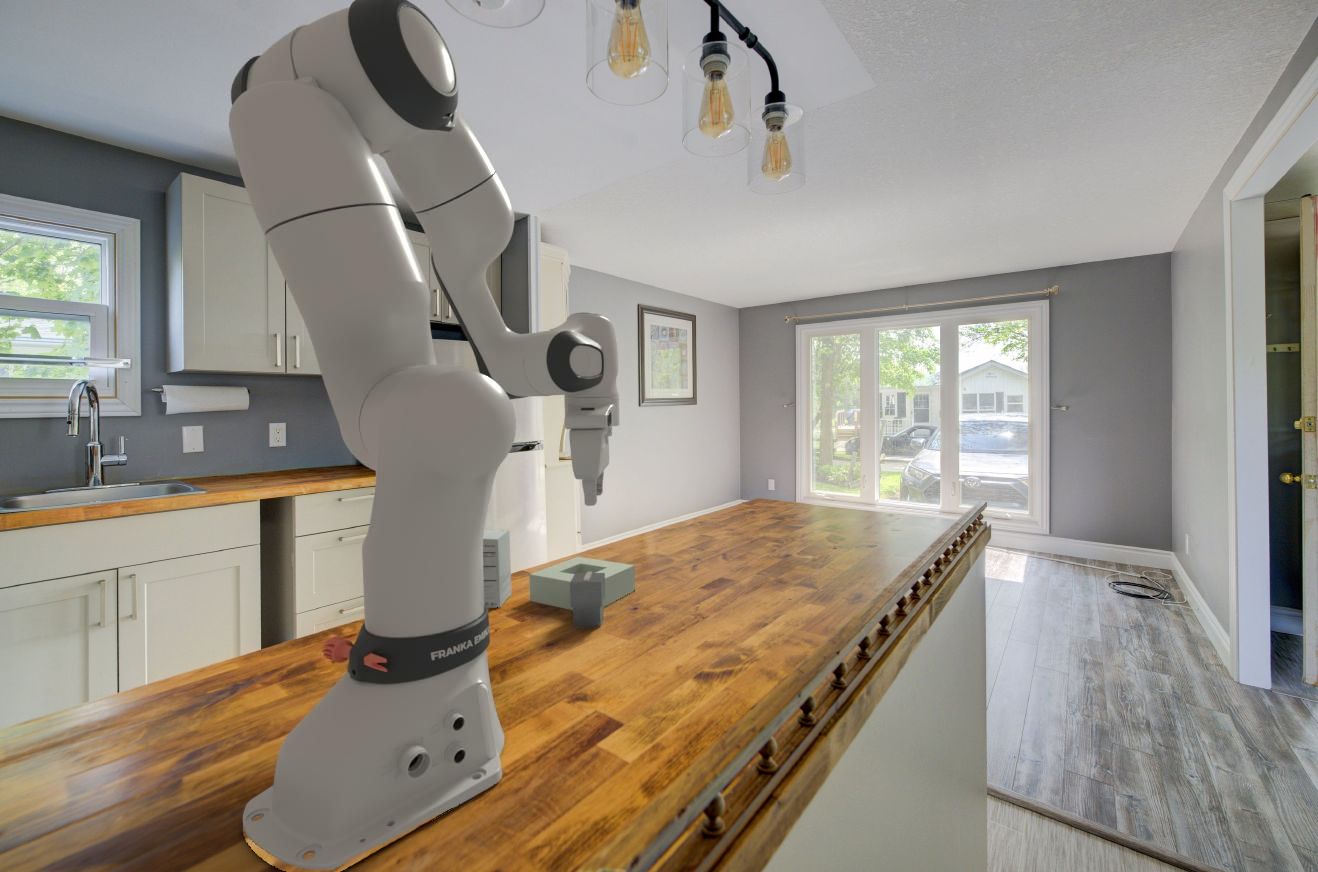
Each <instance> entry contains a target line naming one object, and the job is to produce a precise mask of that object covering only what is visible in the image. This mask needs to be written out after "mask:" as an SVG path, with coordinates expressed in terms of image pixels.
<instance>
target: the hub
mask: <svg viewBox="0 0 1318 872" xmlns="http://www.w3.org/2000/svg"><path fill="white" fill-rule="evenodd" d="M591 571H592V573H605V598H604V601H603V608H605V607H607V606H609V605H611V604H613V603H614V602H617V601H619V600H620V598H621V599H623V598H625V597H626V596H628V595H630V594H632V593H633V592H632V591H634V590H635V591H636V567H635V565H634V564H627V563H622V562H615V561H609V560H604V559H603V560H602V559H596V558H588V557H582V556H576V557H574V558H571V559H568V560H565V561H561V562H560V563H556V564H554V565H551V566H549V567H545V568H542V569H540V570H537V571H534V572H532V573H529V576H528V577H529V601H530V602H533V603H538V604H541V605H547V606H553V607H556V608H561V609H566V610H571V611H573V607H571V601H570V581H571V580H572V578H573V576H574V574H575V573H587V572H591ZM635 591H634V592H635ZM631 592H632V593H631ZM629 593H630V594H629ZM627 594H628V595H627ZM625 595H626V596H625ZM622 597H623V598H622ZM618 599H619V600H618ZM616 600H617V601H616Z"/></svg>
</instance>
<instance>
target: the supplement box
mask: <svg viewBox="0 0 1318 872" xmlns="http://www.w3.org/2000/svg"><path fill="white" fill-rule="evenodd" d="M510 536H511V535H510V530H508V529H507V530H506V529H488V530H487V529H486V530H485V529H484V535H483V581H484V605H485V606H486V607H487V608H488V609H499V608H501V607H502V606H503V604H504V603H505V602H506V601H507V600H508V599H509V598H510V597H511V595H512V573H511V572H512V569H511V567H512V566H511V543H510V542H511V541H510V538H511V537H510ZM497 607H498V608H497Z"/></svg>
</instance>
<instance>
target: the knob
mask: <svg viewBox="0 0 1318 872" xmlns="http://www.w3.org/2000/svg"><path fill="white" fill-rule="evenodd" d="M604 598H605V573H592V571H591V572H587V573H575V574H574V576H573V578H572V580H571V581H570V601H571V607H573V610H572V628H576V629H577V628H578V629H579V628H581V629H582V628H585V629H586V628H601V627H602V623H603V620H604V616H605V615H604V614H605V613H604V611H605V610H604V608H605V607H603V601H604Z"/></svg>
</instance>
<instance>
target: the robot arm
mask: <svg viewBox="0 0 1318 872" xmlns="http://www.w3.org/2000/svg"><path fill="white" fill-rule="evenodd" d="M456 69H457V68H456V65H455V62H454V59H453V57H452V54H451V52H450V49H449V47H448V44H446V41H445V39H444V37H443V36H442V35H441V33H440V31H439V30H438V28H437V27H436V25H435V24H434V23H433V21H432V20H431V18H429V17H428V15H427V14H426V13H425V12H424V11H423V10H421V9H420V8H419V7H418V6H417V5H416V4H414V3H412V2H411V1H409V0H353V2H352V3H351V4H350V6H349V7H346V8H342V9H340V10H337V11H334V12H331V13H329V14H327V15H325V16H323V17H320V18H319V19H316V20H314V21H313V22H311V23H309V24H302V25H300V26H298V27H296V28H295V29H293V30H291V31H290V32H288V33H287V34H285V35H284V36H283V37H281V38H280V39H279V40H277V41H276V42H274V43H273V44H272V45H271V46H270V47H269V48H267V49H266V50H265V51H264V52H262V54H261V55H256V56H252V57H251V58H249V59H248V60H247V62H246V63H245V64H243V65H242V67H241V68H240V70H238V73H237V74H236V75H235V77H234V79H233V82H232V83H231V89H230V100H231V101H230V102H231V108H230V111H229V115H228V116H229V117H228V126H229V127H228V128H229V129H228V130H229V132H230V136H231V137H230V138H231V140H232V141H231V142H232V146H233V150H234V154H235V157H236V161H237V163H238V168H239V172H240V174H241V177H242V180H243V183H244V187H245V190H246V192H247V196H248V198H249V201H250V202H251V203H250V204H251V206H252V209H253V211H254V214H255V216H256V218H257V220H258V223H259V225H260V228H261V230H262V232H263V235H264V236H265V239H266V241H267V243H268V246H269V247H270V249H271V252H272V255H273V256H274V259H275V260H276V263H277V265H278V267H279V269H280V272H281V273H282V276H283V278H284V281H285V282H286V284H287V287H288V289H289V292H290V293H291V295H292V298H293V301H294V302H295V305H296V306H297V308H298V309H297V310H298V311H299V313H300V315H301V318H302V320H303V322H304V324H305V328H306V330H307V333H308V335H309V337H310V341H311V343H312V346H313V350H314V354H315V357H316V360H317V364H318V367H319V370H320V374H321V378H322V380H323V383H324V386H325V389H326V392H327V395H328V399H329V401H330V404H331V407H332V409H333V412H334V415H335V417H336V420H337V423H338V425H339V431H340V434H341V437H342V440H343V442H344V444H345V446H346V447H347V449H348V450H349V451H350V453H351V454H352V455H353V457H354V458H355V459H356V460H358V461H359V462H360V463H361V464H362V465H363V466H365V467H367V468H369V469H370V470H373V471H375V484H374V494H373V500H372V501H373V502H372V508H371V514H370V515H371V516H370V519H369V525H368V529H367V532H366V535H365V537H364V539H363V542H362V548H361V555H362V557H361V559H362V577H363V578H362V581H363V582H362V583H363V608H364V612H363V613H364V623H362V625H361V626H360V629H359V631H358V635H357V636H356V639H355V642H354V643H353V641H352V640H349V639H344V638H343V637H340V636H332V637H330V638H329V639H326V641H325V644H324V645H323V646H322V650H321V652H322V653H323V655H322V656H323V657H325V659H328V660H331V661H334V662H336V663H344V662H346V661H348V663H347V667H346V669H347V671H346V672H345V673H344V675H342V676H341V678H340V679H338V680H337V682H336V683H335V684H334V685H333V686H332V687H331V688H330V689H329V691H328V692H326V694H324V696H323V697H322V699H321V700H320V701H319V702H317V704H316V705H315V706H314V707H313V708H312V709H311V710H310V711H309V712H308V713H307V714H306V715H305V716H304V717H303V718H302V719H301V720H300V721H299V723H298V724H296V726H295V727H294V728H293V729H292V730H291V731H290V732H289V733H287V735H286V737H285V738H284V740H283V741H282V744H281V746H280V749H279V751H278V754H277V755H278V756H277V759H276V762H275V764H276V765H275V770H274V776H273V785H271V786H270V787H268V788H266V789H264V790H263V791H262V792H261V793H259V794H258V795H255V796H254V797H253V798H252V799H250V800H249V801H248V802H246V805H245V807H244V809H243V814H242V820H243V821H242V822H243V827H244V830H245V832H246V834H247V836H248V837H249V839H250V840H252V842H254V843H255V845H257V846H259V847H260V848H261V849H263V850H265V851H266V852H267V853H268V854H271V855H272V856H274V857H276V858H278V859H279V860H281V861H283V862H285V863H286V864H287V863H288V864H290V865H293V866H296V867H300V868H305V869H310V870H334V869H335V868H336V867H339V866H341V865H342V864H345V863H347V862H348V861H349V860H350V859H352V858H355V857H356V856H357V855H360V854H361V853H364V852H366V851H368V850H370V849H373V848H374V847H376V846H379V845H382V844H383V843H385V842H387V841H390V840H391V839H393V838H395V837H398V836H400V835H402V834H403V833H406V832H407V831H409V830H410V829H411V828H414V827H416V826H417V825H419V824H421V823H422V822H425V820H428V819H431V818H432V817H433V818H434V816H437V815H439V814H442V813H443V812H445V811H447V810H449V809H451V808H453V809H455V808H456V807H458V806H459V804H460V805H461V804H463V803H464V802H467V801H468V800H470V799H472V798H473V797H475V796H478V794H481V793H483V792H484V791H486V790H488V789H489V788H492V787H493V786H495V785H496V784H498V783H499V782H500V781H501V779H502V777H503V770H502V769H503V768H502V762H501V758H500V757H501V754H502V752H503V749H504V745H505V733H504V730H503V728H502V726H501V723H500V720H499V716H498V713H497V710H496V706H495V699H494V697H493V689H492V686H491V678H490V671H489V661H488V652H487V649H488V647H489V645H490V643H491V638H490V637H491V636H490V629H491V628H490V619H489V617H490V615H489V608H487V607H486V606H485V605H484V581H483V535H484V530H485V525H486V520H487V519H486V518H487V513H488V508H489V504H490V500H491V499H490V498H491V494H492V490H493V485H494V482H495V477H496V474H497V471H498V469H499V467H500V466H501V465H502V463H503V462H504V460H506V458H507V457H508V455H509V453H510V451H511V449H512V448H513V444H514V442H515V437H516V435H517V434H516V433H517V419H516V413H515V409H514V406H513V403H512V401H511V400H516V399H517V400H518V399H524V398H529V397H550V396H564V397H563V398H564V428H565V430H569V431H568V435H569V437H568V438H569V439H568V440H569V446H570V447H569V448H570V456H571V466H572V472H573V476H574V478H575V479H576V480H581V485H582V490H583V495H584V505H585V506H587V507H591V506H595V505H597V503H598V496H601V495H603V493H604V489H603V488H604V486H603V485H604V474H605V470H606V468H607V467H608V465H609V464H610V442H609V441H610V440H609V437H612V435H613V428H612V427H618V426H620V397H619V390H618V389H617V377H618V373H619V359H618V358H619V356H618V345H617V344H618V343H617V338H616V333H615V328H614V325H613V323H612V321H611V320H610V319H609V318H608V317H605V316H604V315H601V314H598V313H590V312H576V313H572V314H570V315H568V316H567V317H566V320H565V322H563V323H562V324H560V325H558V326H556V327H554V328H550V329H549V330H544V331H539V332H528V333H517V332H515V331H513V330H511V328H508V327H507V325H506V324H505V322H504V320H503V317H502V315H501V313H500V311H499V308H498V306H497V304H496V302H495V300H494V297H493V295H492V293H491V291H490V288H489V286H488V283H487V270H488V268H489V266H490V265H491V264H492V263H493V262H494V261H496V259H497V258H498V257H499V256H500V255H501V254H502V253H503V252H504V251H505V249H507V246H508V245H509V242H510V240H511V238H512V236H513V232H514V227H515V219H516V218H515V213H514V208H513V205H512V202H511V200H510V197H509V194H508V192H507V190H506V189H505V188H506V187H505V186H504V183H503V182H502V180H501V178H500V177H499V174H498V173H497V172H496V169H495V168H494V165H493V163H492V162H491V160H490V159H489V157H488V155H487V153H486V151H485V150H484V148H483V146H482V144H481V143H480V141H479V139H478V138H477V137H476V135H475V134H474V132H473V131H472V129H471V127H470V126H469V125H468V124H467V122H466V121H465V119H464V117H463V116H462V115H461V113H460V112H459V111H458V109H457V107H458V104H459V103H458V102H459V80H458V79H459V78H458V72H457V70H456ZM374 155H379V156H380V157H382V158H383V160H385V162H386V165H387V167H388V168H389V170H390V174H392V177H393V179H394V181H395V183H396V185H397V186H398V188H399V190H400V192H401V194H402V195H403V197H404V199H405V201H406V202H407V204H408V205H409V207H410V209H411V210H412V211H413V213H414V215H415V216H416V219H417V220H418V222H419V224H420V225H421V227H422V229H423V232H424V233H425V235H426V239H427V240H428V243H429V246H430V248H431V250H430V251H431V253H430V258H431V261H430V262H431V265H432V270H433V272H434V276H435V277H436V280H437V283H438V284H439V286H440V288H441V291H442V293H443V295H444V296H445V299H446V300H447V303H448V305H449V307H450V309H451V311H452V312H453V314H454V316H455V318H456V319H457V321H458V322H457V323H458V324H459V325H460V327H461V329H462V331H463V334H464V335H465V338H466V339H467V342H468V343H469V346H470V348H471V350H472V352H473V355H474V357H475V362H476V364H477V368H478V371H479V372H478V371H476V370H473V369H470V368H468V367H463V366H458V365H455V364H449V363H438V361H437V358H436V353H435V348H434V343H433V337H432V330H431V322H430V320H431V319H430V309H431V308H430V306H431V301H432V300H431V291H430V288H429V287H430V286H429V285H428V282H427V279H426V277H425V274H424V272H423V270H422V267H421V263H420V261H419V259H418V257H417V254H416V251H415V249H414V246H413V244H412V242H411V239H410V236H409V234H408V231H407V228H406V226H405V224H404V220H403V218H402V215H401V213H400V211H399V208H398V205H397V203H396V200H395V198H394V196H393V194H392V191H391V188H390V187H389V185H388V182H387V180H386V178H385V176H384V174H383V171H382V169H381V167H380V166H379V164H378V162H377V160H376V158H375V156H374ZM494 784H495V785H494ZM454 807H455V808H454ZM451 810H452V809H451ZM449 811H450V810H449ZM260 815H263V817H262V818H261V819H259V820H256V821H252V819H253V818H254V817H256V816H260ZM442 815H443V814H442ZM242 822H241V823H242ZM308 853H315V854H314V856H312V857H311V858H309V859H302V858H303V856H304V855H306V854H308Z"/></svg>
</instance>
